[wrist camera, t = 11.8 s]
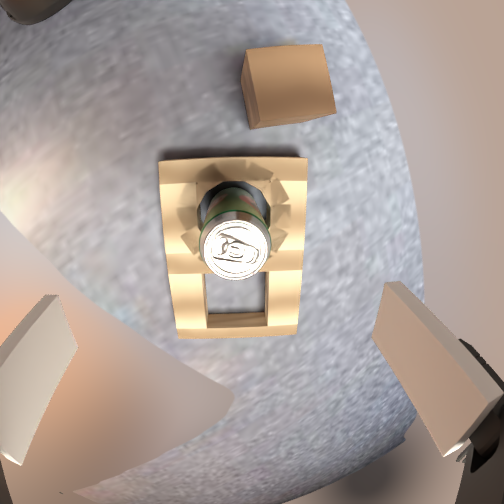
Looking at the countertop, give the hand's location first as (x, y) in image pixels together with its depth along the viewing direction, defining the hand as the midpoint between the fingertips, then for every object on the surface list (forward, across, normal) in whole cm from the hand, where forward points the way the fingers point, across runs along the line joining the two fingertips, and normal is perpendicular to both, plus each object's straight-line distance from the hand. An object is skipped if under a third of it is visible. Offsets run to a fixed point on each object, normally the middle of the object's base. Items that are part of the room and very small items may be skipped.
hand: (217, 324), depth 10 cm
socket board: (+21, +1, -5) cm, 21 cm away
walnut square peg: (+21, +5, +11) cm, 24 cm away
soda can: (+21, +1, -1) cm, 21 cm away
